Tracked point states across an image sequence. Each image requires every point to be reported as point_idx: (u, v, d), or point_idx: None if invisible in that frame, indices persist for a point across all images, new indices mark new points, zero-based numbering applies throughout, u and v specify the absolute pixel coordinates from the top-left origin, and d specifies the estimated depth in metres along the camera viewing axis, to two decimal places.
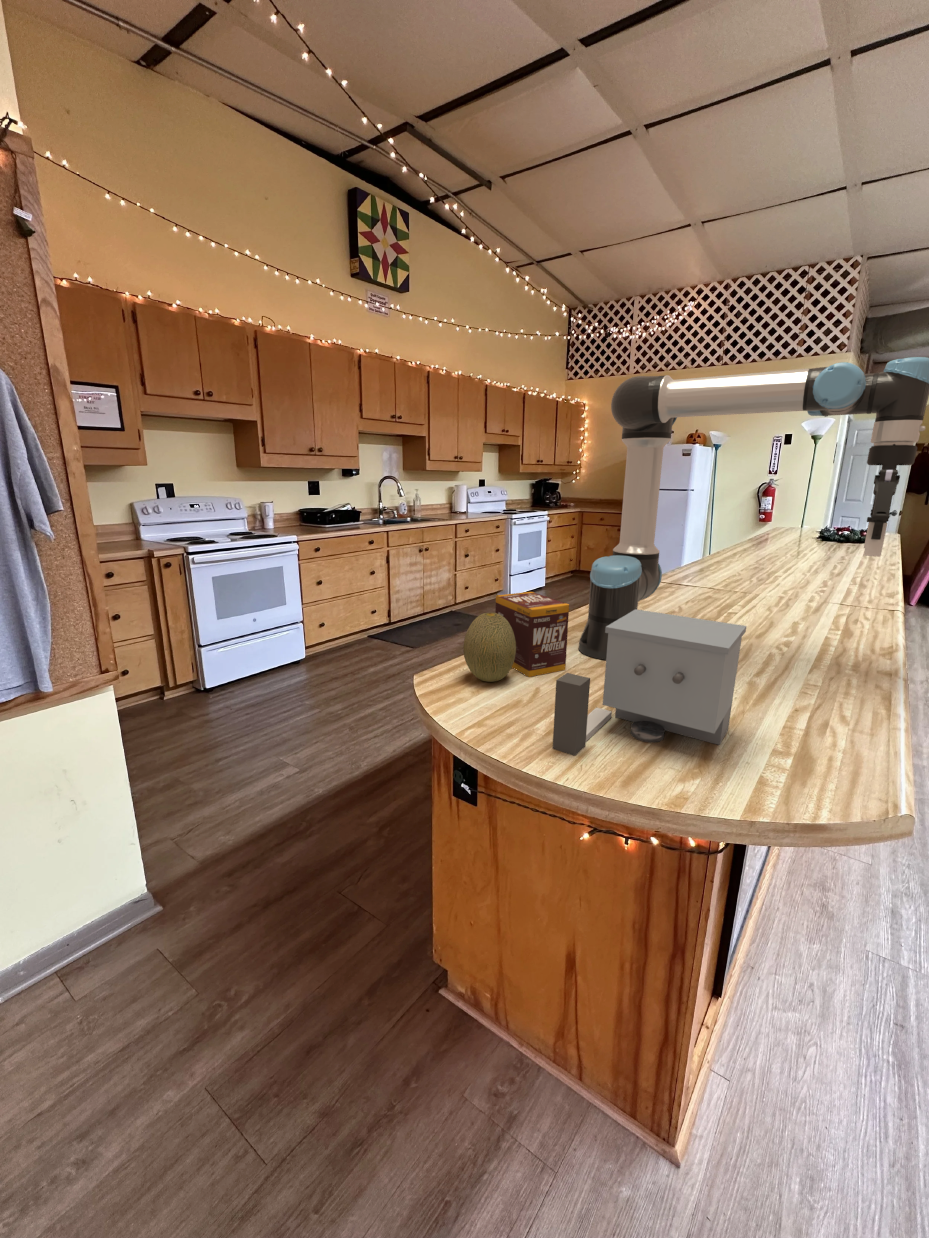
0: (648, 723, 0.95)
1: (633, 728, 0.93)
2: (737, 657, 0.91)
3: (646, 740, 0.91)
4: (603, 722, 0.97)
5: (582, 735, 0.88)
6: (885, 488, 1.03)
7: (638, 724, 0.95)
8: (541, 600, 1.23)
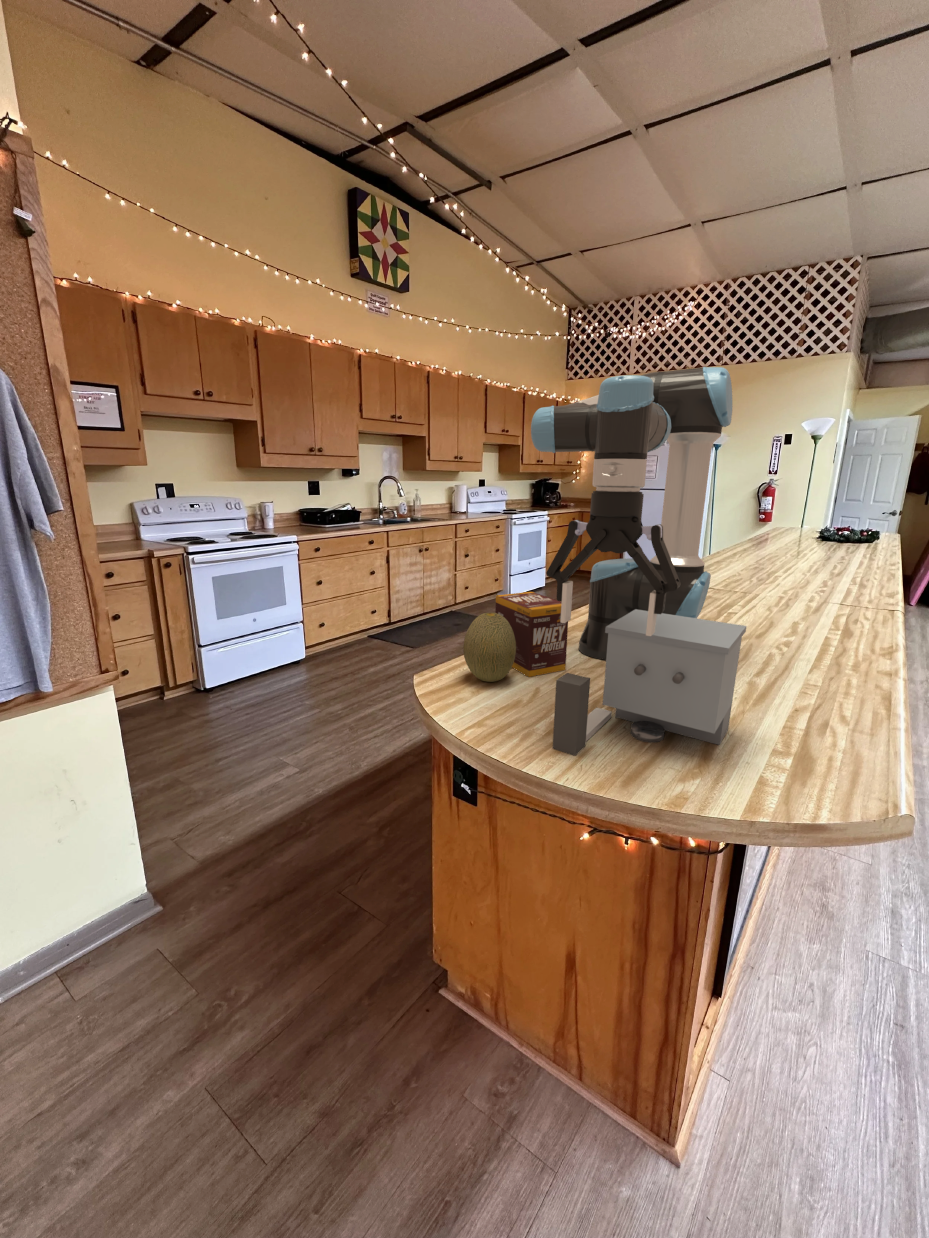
0: (648, 723, 0.95)
1: (633, 728, 0.93)
2: (737, 657, 0.91)
3: (646, 740, 0.91)
4: (603, 722, 0.97)
5: (582, 735, 0.88)
6: None
7: (638, 724, 0.95)
8: (541, 600, 1.23)
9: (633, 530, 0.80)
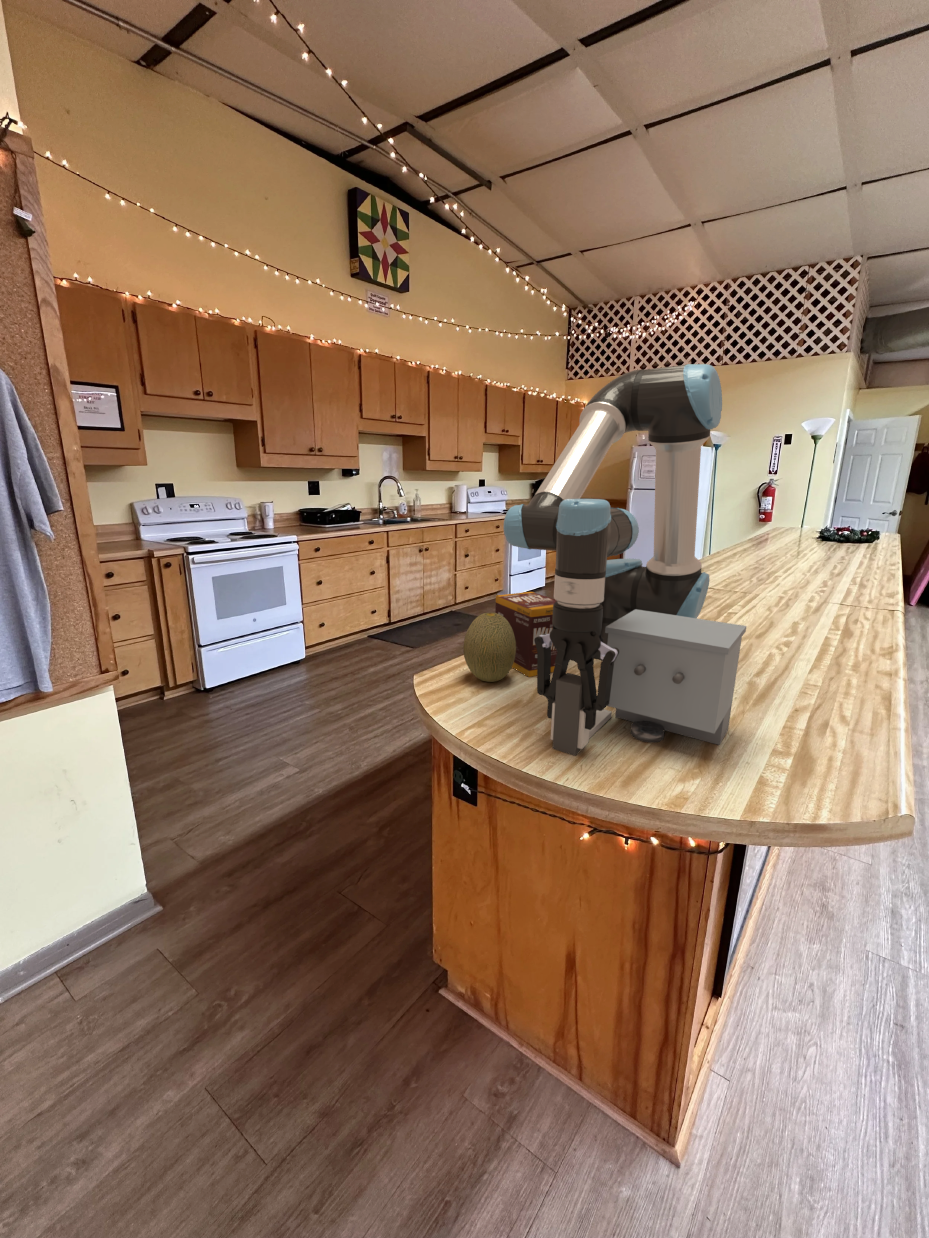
0: (648, 722, 0.95)
1: (633, 728, 0.93)
2: (737, 657, 0.91)
3: (646, 740, 0.91)
4: (603, 722, 0.97)
5: None
6: None
7: (638, 724, 0.95)
8: (541, 600, 1.23)
9: (592, 644, 0.82)
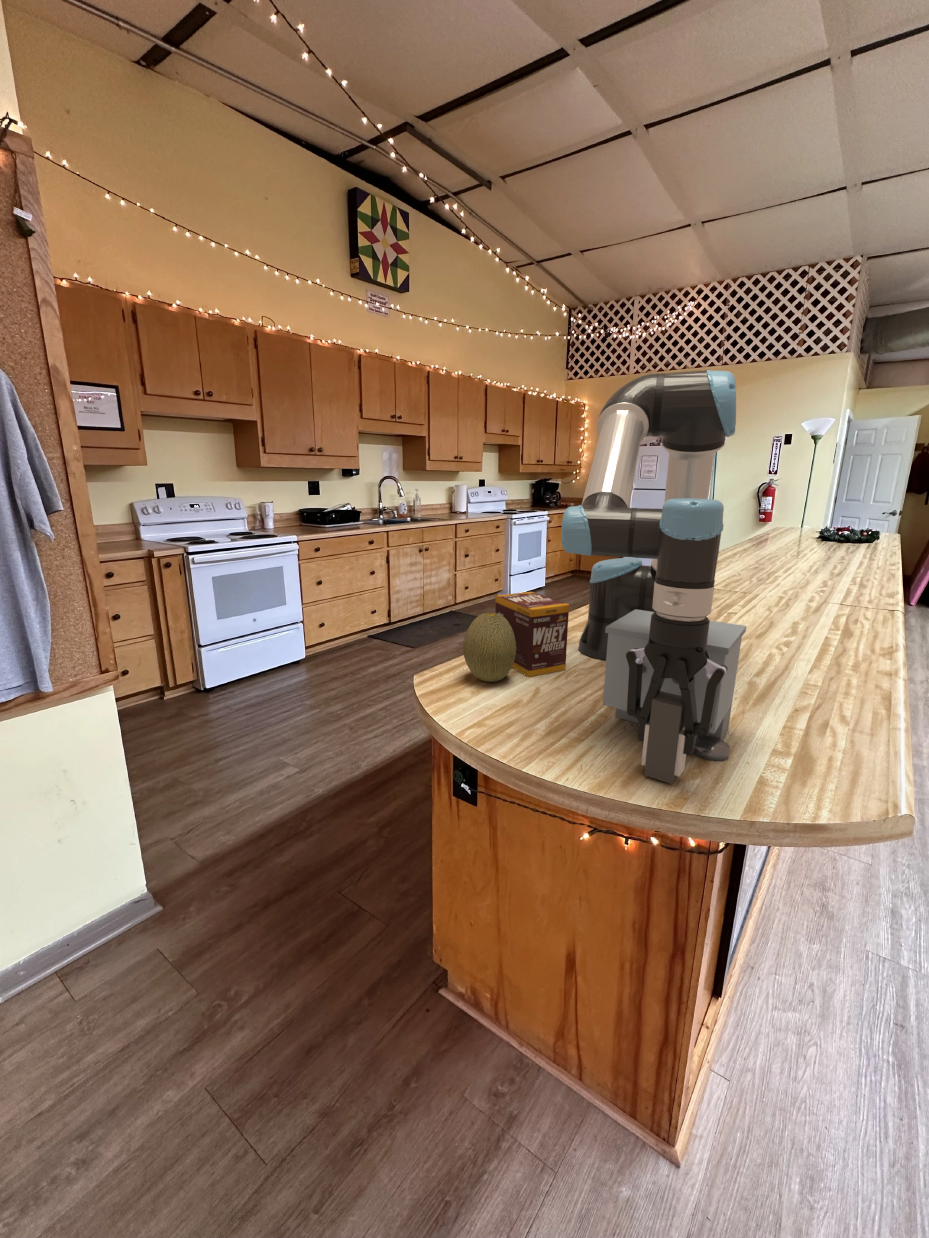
0: (712, 738, 0.89)
1: (695, 743, 0.88)
2: (737, 657, 0.91)
3: (710, 757, 0.86)
4: None
5: None
6: None
7: (701, 740, 0.89)
8: (541, 600, 1.23)
9: (697, 660, 0.73)
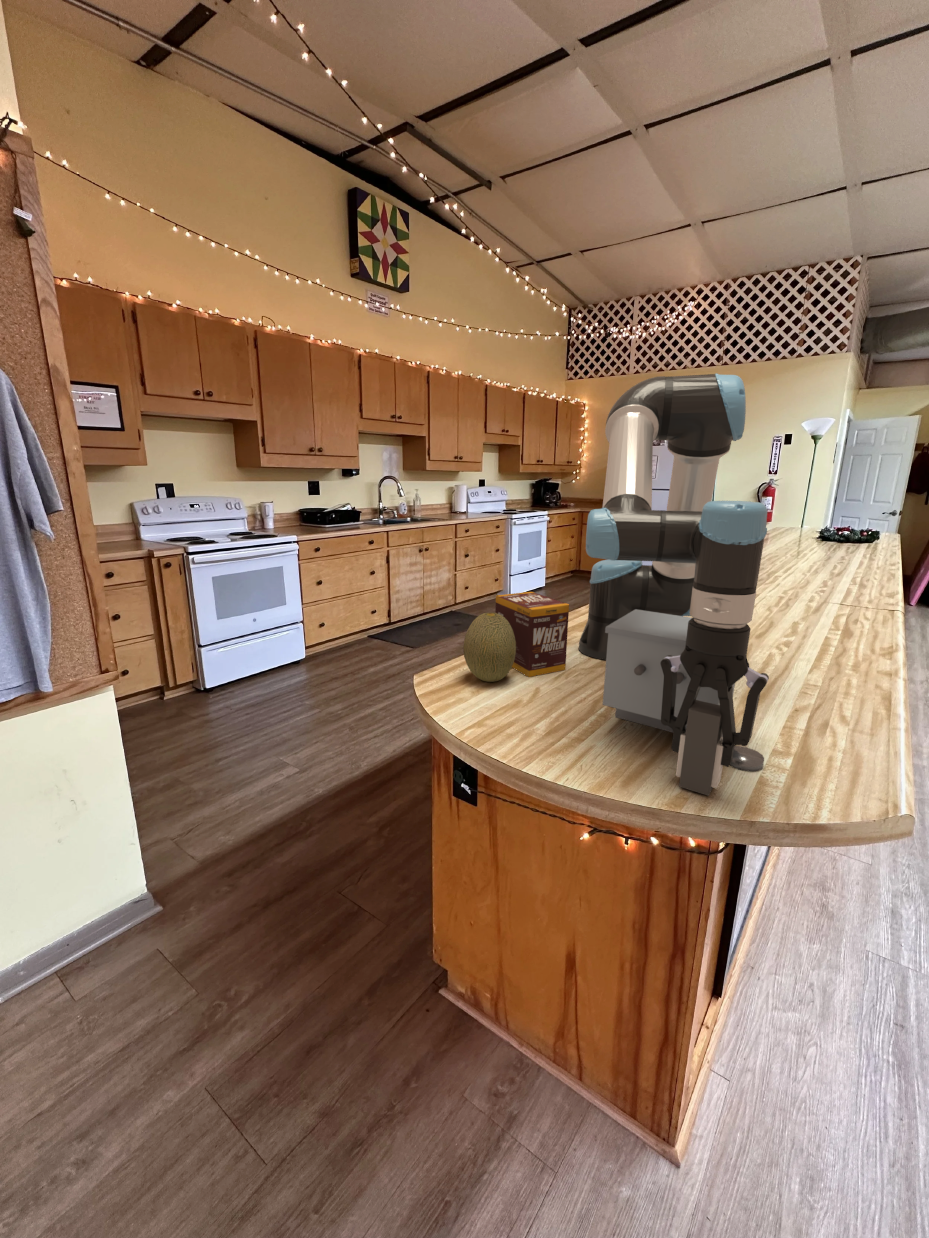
0: (745, 749, 0.87)
1: None
2: None
3: (742, 768, 0.83)
4: None
5: None
6: None
7: None
8: (541, 600, 1.23)
9: (737, 669, 0.71)
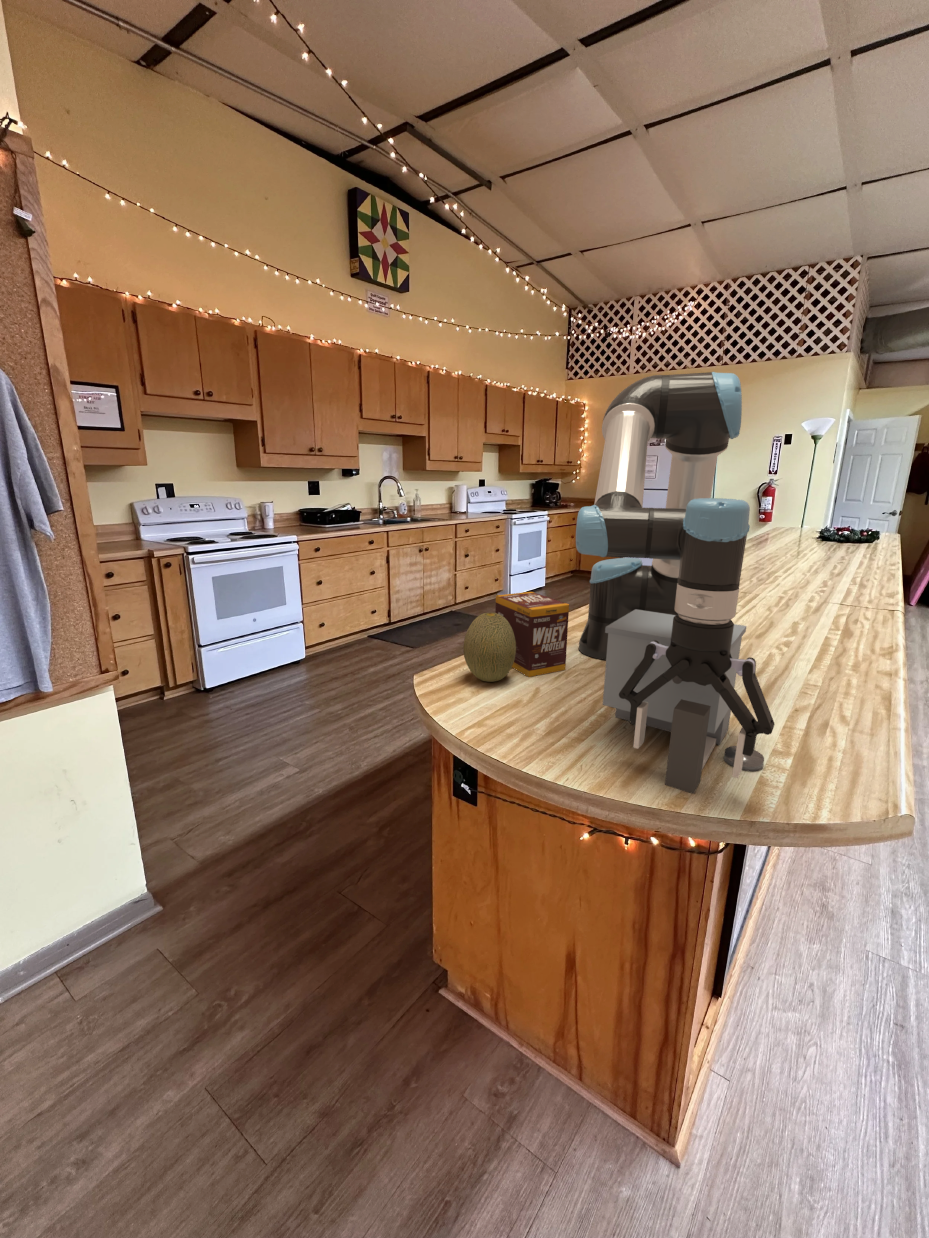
0: None
1: (727, 754, 0.85)
2: (737, 657, 0.91)
3: (742, 768, 0.83)
4: (710, 751, 0.87)
5: (699, 770, 0.78)
6: None
7: (733, 750, 0.86)
8: (541, 600, 1.23)
9: (721, 664, 0.72)
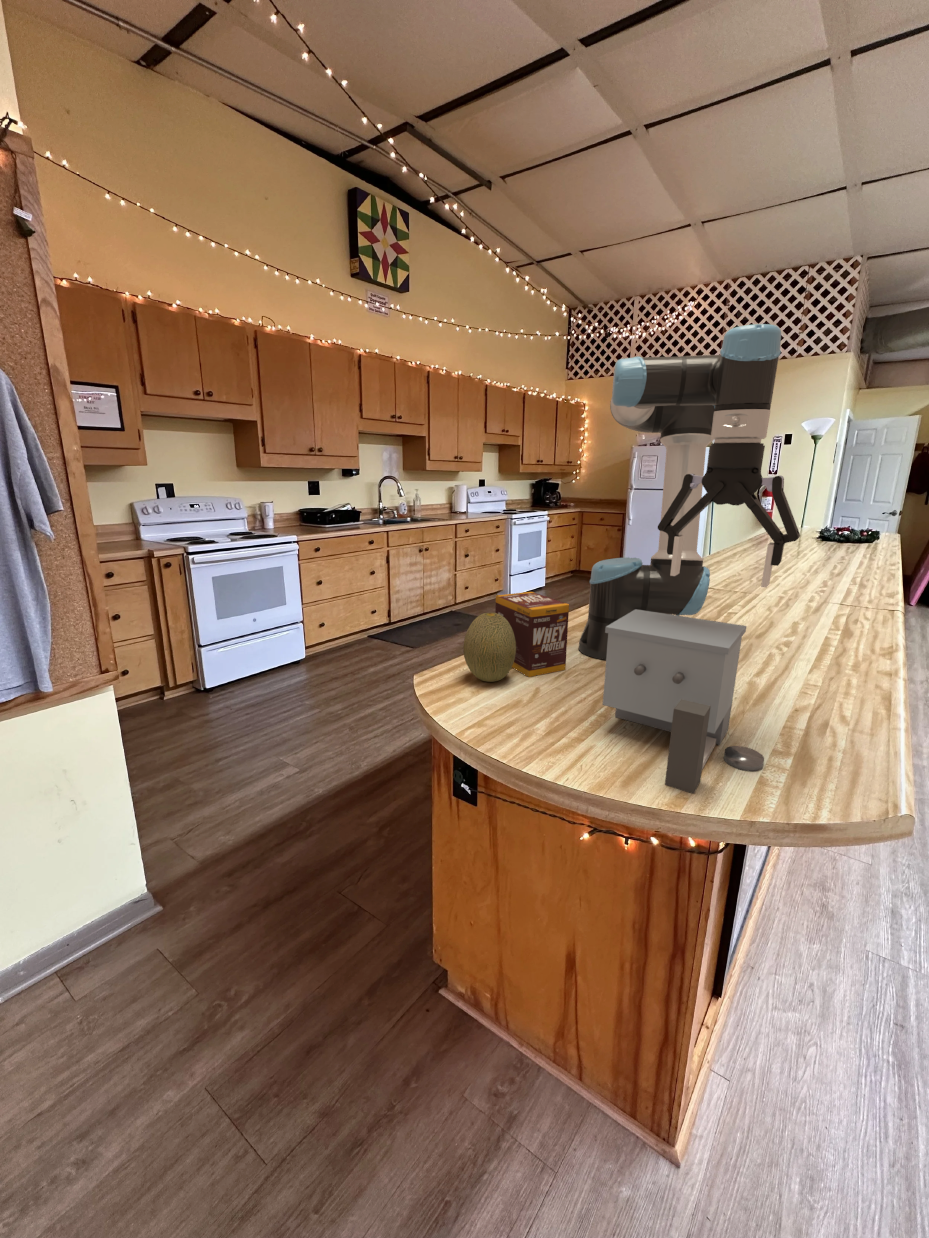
0: (745, 749, 0.87)
1: (727, 753, 0.85)
2: (737, 657, 0.91)
3: (742, 768, 0.83)
4: (710, 751, 0.87)
5: (699, 770, 0.78)
6: None
7: (733, 750, 0.86)
8: (541, 600, 1.23)
9: (753, 482, 0.81)
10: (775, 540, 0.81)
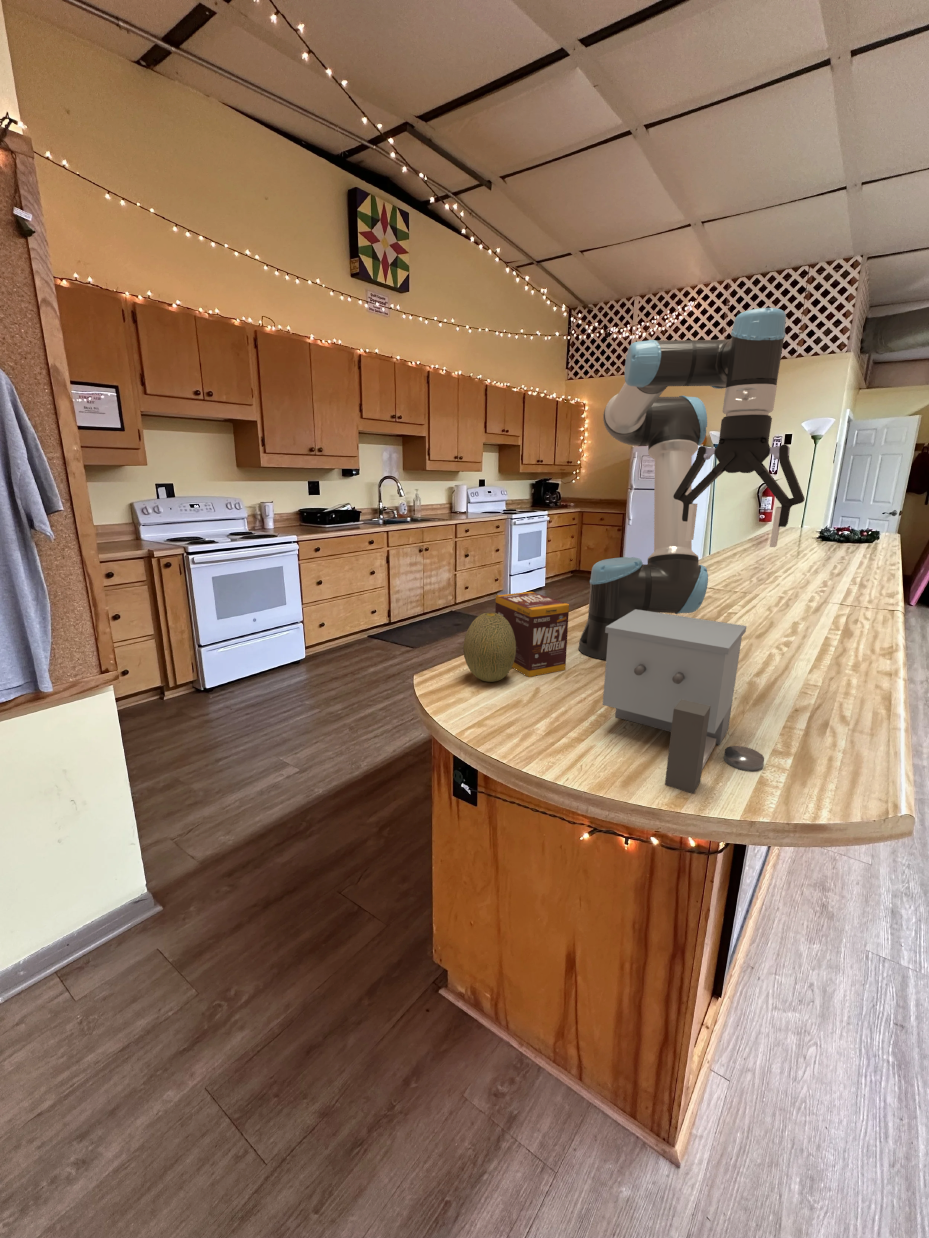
0: (745, 749, 0.87)
1: (727, 753, 0.85)
2: (737, 657, 0.91)
3: (742, 768, 0.83)
4: (710, 751, 0.87)
5: (699, 770, 0.78)
6: None
7: (733, 750, 0.86)
8: (541, 600, 1.23)
9: (761, 450, 0.89)
10: (782, 503, 0.89)
